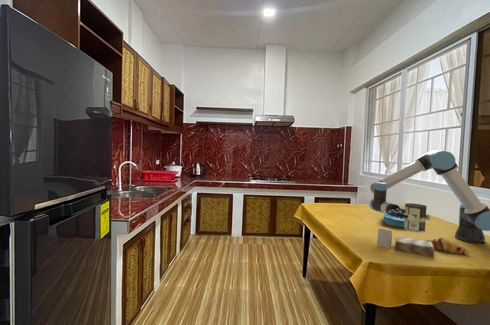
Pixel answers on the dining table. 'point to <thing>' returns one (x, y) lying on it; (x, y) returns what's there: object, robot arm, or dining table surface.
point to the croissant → (448, 246)
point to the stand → (414, 246)
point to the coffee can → (415, 217)
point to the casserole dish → (393, 220)
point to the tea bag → (384, 238)
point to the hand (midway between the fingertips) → (421, 218)
